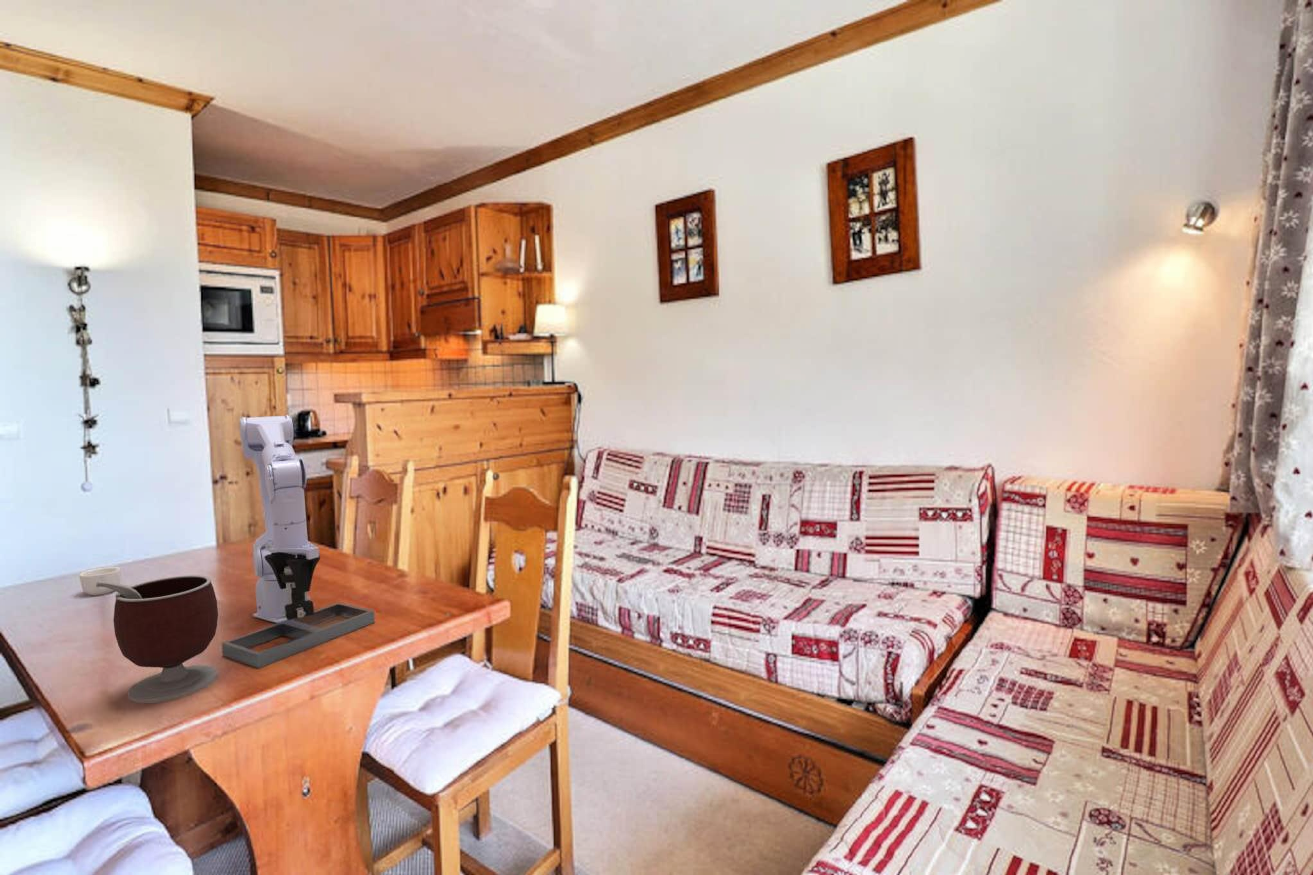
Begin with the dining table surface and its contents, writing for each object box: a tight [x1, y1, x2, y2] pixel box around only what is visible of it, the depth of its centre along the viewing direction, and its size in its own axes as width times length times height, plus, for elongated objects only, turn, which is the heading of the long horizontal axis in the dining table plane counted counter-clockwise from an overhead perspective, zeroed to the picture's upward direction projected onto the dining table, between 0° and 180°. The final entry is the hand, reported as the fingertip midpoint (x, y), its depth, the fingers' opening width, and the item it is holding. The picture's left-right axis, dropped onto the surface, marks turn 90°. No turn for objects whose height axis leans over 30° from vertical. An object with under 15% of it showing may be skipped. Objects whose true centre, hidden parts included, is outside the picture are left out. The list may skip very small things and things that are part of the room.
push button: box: [276, 566, 315, 621], centre depth 127 cm, size 7×5×10 cm
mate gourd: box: [96, 574, 219, 704], centre depth 109 cm, size 16×14×20 cm
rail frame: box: [221, 602, 376, 669], centre depth 129 cm, size 12×24×2 cm, turn 150°
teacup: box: [78, 566, 121, 596], centre depth 161 cm, size 10×8×5 cm
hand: (294, 589), depth 128 cm, fingers closed on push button, 5 cm apart
